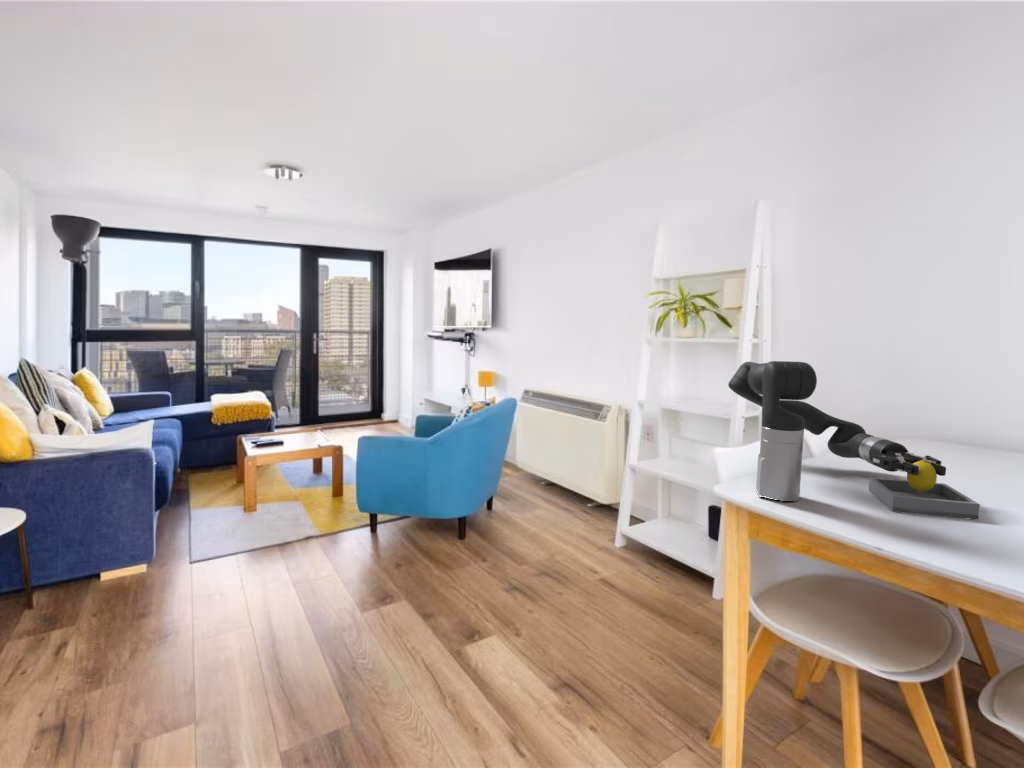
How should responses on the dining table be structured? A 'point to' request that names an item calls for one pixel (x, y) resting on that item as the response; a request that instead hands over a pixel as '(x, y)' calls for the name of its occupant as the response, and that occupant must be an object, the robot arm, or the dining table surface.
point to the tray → (923, 499)
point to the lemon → (922, 477)
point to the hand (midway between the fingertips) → (930, 471)
